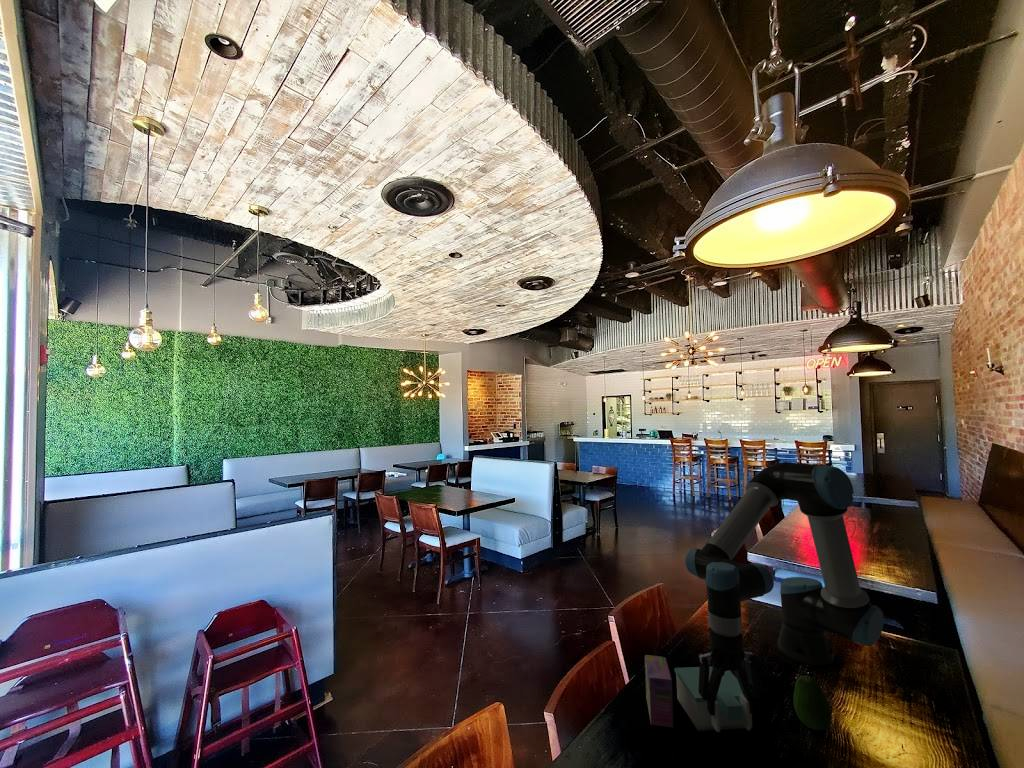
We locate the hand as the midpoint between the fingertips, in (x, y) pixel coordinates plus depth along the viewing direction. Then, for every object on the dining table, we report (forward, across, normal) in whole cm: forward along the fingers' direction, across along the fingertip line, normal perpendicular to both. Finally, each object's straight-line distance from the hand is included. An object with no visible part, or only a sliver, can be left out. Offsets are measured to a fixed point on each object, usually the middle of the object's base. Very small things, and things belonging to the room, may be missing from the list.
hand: (730, 726), depth 103 cm
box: (+3, +14, -10) cm, 17 cm away
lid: (-3, 0, -6) cm, 7 cm away
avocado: (+3, -22, -2) cm, 22 cm away
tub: (+3, 0, -9) cm, 9 cm away
